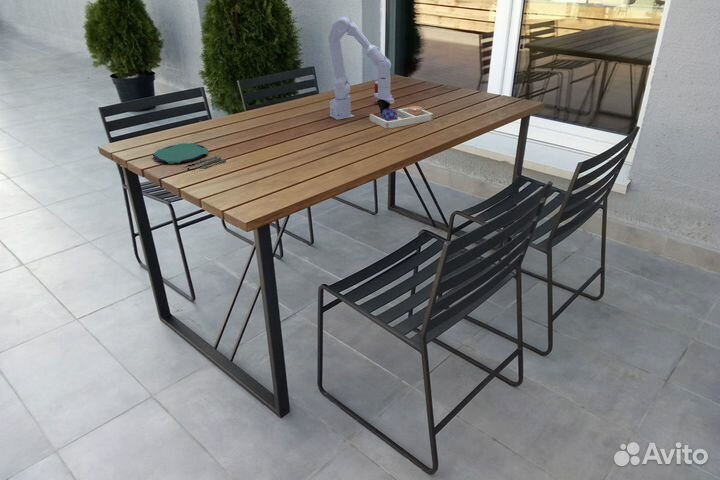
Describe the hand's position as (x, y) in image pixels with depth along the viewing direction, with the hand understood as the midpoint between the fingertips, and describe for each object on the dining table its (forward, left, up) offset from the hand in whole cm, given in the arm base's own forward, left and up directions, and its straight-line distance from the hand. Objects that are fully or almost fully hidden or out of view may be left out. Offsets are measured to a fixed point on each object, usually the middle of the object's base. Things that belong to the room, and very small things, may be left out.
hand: (384, 115), depth 256 cm
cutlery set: (-94, -6, -2) cm, 94 cm away
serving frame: (+5, -8, -1) cm, 9 cm away
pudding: (0, -5, -2) cm, 5 cm away
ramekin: (+12, -8, -1) cm, 14 cm away
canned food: (+13, +23, -1) cm, 26 cm away
